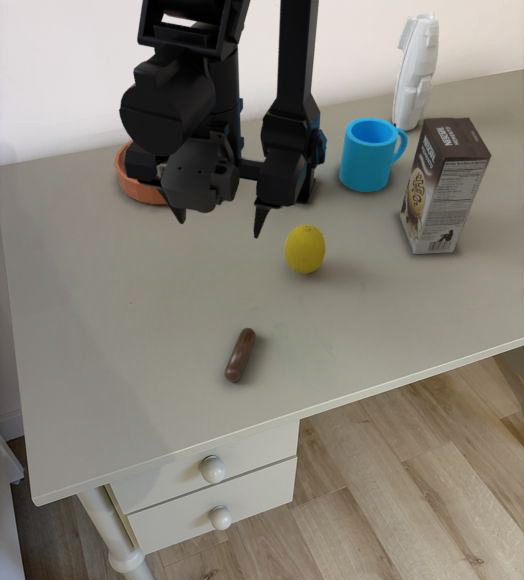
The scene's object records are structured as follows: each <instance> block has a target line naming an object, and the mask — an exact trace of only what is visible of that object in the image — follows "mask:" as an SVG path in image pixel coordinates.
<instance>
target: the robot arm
mask: <svg viewBox="0 0 524 580" xmlns="http://www.w3.org/2000/svg"><path fill="white" fill-rule="evenodd" d="M251 1H252V0H142V2H141V8H140V16H139V23H138V29H137V37H136V43H137V44H138V45H139V46H143V47H149V48H152V49H153V50H154V54H153V55H152V56H151V57H149V58H148V59H146V60H144V61H141V62H140V63H139V64H137V65H136V66H135V67H134V68H133V70H132V74H133V79H134V80H133V81H134V83H133V84H132V85H130V86H129V87H128V88H127V89H126V90H125V92H123V94H122V96H121V99H120V104H119V105H120V106H119V109H118V112H119V113H118V114H119V118H120V121H121V124H122V127H123V129H124V130H125V132H126V134H127V135H128V136H129V137H130V139H131V140H133V141H132V142H131V143H130V145H129V146H128V147H127V148H126V150H125V151H124V152H123V158H122V163H123V167H124V171H125V174H126V176H127V177H128V178H132V179H137V181H138V182H139V183H140V184H142V185H146V186H149V187H152V188H155V189H156V190H157V191H158V192H159V193H160V194H161V196H162V197H163V198H164V200H165V201H166V203H167V204H166V205H167V206H168V208H169V209H170V210H171V211H170V212H172V215H174V217H175V219H176V220H177V222H178V223H179V224H180V225H184V223H185V222H186V220H187V210H190V211H197V212H198V213H201V214H208V213H209V214H210V213H212V212H213V211H214V210H215V209H216V206H221V205H222V203H223V202H233V201H234V200H235V197H236V194H237V191H238V189H239V185H240V180H241V179H243V180H247V181H252V182H253V181H254V182H256V185H255V195H256V197H255V200H254V202H253V205H254V207H255V212H254V219H253V221H254V222H253V238H254V239H256V240H257V239H258V238H259V237H260V234H261V232H262V229H263V227H264V224H265V222H266V219H267V216H268V215H269V213H270V211H272V210H280V209H282V208H284V207H286V208H289V207H292V206H295V205H296V203H300V204H308V203H309V201H310V198H311V196H312V194H313V193H312V192H313V191H314V188H315V185H316V182H317V179H316V178H315V172H316V171H315V170H316V168H317V167H318V166H320V165H323V164H325V162H326V154H327V153H326V152H327V149H328V148H327V143H328V139H327V136H326V135H325V133H324V132H323V129H321V110H320V108H319V106H318V104H317V102H316V100H315V98H314V96H313V94H312V83H313V74H314V73H313V72H314V63H315V50H316V49H315V48H316V41H317V40H316V39H317V28H318V27H317V26H318V17H319V6H320V5H319V4H320V0H280V2H279V25H278V49H277V51H278V53H277V73H276V74H277V75H276V77H277V78H276V79H277V80H276V95H275V99H274V100H273V102H272V103H271V105H270V106H269V107H268V109H267V110H266V113H265V114H264V116H263V118H262V124H261V128H260V143H261V148H262V149H261V150H262V153H263V157H264V160H259V159H255V158H254V159H253V158H249V157H242V151H243V149H244V147H245V137H244V136H242V130H241V129H242V127H241V124H242V123H241V113H242V111H243V110H244V98H242V97H241V95H240V65H239V64H240V63H239V62H240V61H239V44H240V41H241V37H242V34H243V32H244V29H245V22H246V17H247V15H248V12H249V9H250V4H251ZM164 16H167V17H170V18H175V19H180V20H186V21H191V22H195V23H193V24H192V25H191V26H187V25H183V24H176V23H171V22H166V21H163V18H164Z"/></svg>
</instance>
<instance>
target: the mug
mask: <svg viewBox="0 0 524 580" xmlns="http://www.w3.org/2000/svg"><path fill="white" fill-rule="evenodd" d="M399 136H400V143H399V146H398V147H397V149H396V146H397V142H398V138H399ZM407 147H408V136H407V133H406V131H403V130H402V129H400V128H396V126H394V125H392V123H391V122H389V121H387V120H385V119H381V118H377V117H375V118H374V117H361V118H357V119H354V120H352V121H349V123H348V124H347V125H346V127H345V131H344V136H343V145H342V153H341V160H340V167H339V175H338V176H339V180H340V182H341V184H343V185H344V186H345V187H347V188H348V189H351V190H352V191H355V192H361V193H372V192H377V191H380V190H381V189H383V188H385V187H386V186H387V184H388V181H389V177H390V173H391V168H392V165H393V164H395V163H396V162H397V161H398V160H399V159H400V158H401V157H402V155H403V154H404V153H405V151H406V149H407Z"/></svg>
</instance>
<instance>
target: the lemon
mask: <svg viewBox="0 0 524 580" xmlns="http://www.w3.org/2000/svg"><path fill="white" fill-rule="evenodd" d="M283 250H284V251H283V252H284V259H285V262H286V263H287V266H288V267H289V268H290V269H291V270H292V271H294V272H295V273H298V274H305V275H306V274H310V273H313V272H315V271H316V270H318V269H319V267H320V266H322V263H323V261H324V259H325V255H326V241H325V238H324V236H323V233H322V232H321V231H320V230H319V228H317V227H315V226H313V225H311V224H300V225H297V226H295V227H294V228H293V229H292V230H291V231H290V232H289V234H288V236H287V237H286V240H285V244H284V249H283Z"/></svg>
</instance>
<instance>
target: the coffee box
mask: <svg viewBox="0 0 524 580" xmlns="http://www.w3.org/2000/svg"><path fill="white" fill-rule="evenodd" d="M492 156H493V155H492V153H491V151H490V150H489V148H488V147H487V145H486V143H485V141H484V140H483V138H482V137H481V134H480V133H479V132H478V130H477V128H476V127H475V125H474V123H473V121H472V120H471V118H470V117H430V118H424V119H423V121H422V126H421V130H420V134H419V137H418V142H417V146H416V149H415V154H414V158H413V161H412V165H411V169H410V173H409V178H408V180H407V181H408V182H407V185H406V189H405V193H404V197H403V201H402V204H401V209H400V213H399V218H400V221H401V223H402V226H403V229H404V232H405V234H406V237H407V240H408V242H409V245H410V249H411V250H412V254H413V255H423V254H441V253H442V254H445V253H446V254H447V253H453V252H454V251H455V249H456V246H457V244H458V241H459V238H460V236H461V234H462V231H463V229H464V226H465V223H466V221H467V219H468V217H469V214H470V211H471V209H472V206H473V204H474V201H475V199H476V196H477V194H478V191H479V189H480V186H481V184H482V181H483V179H484V176H485V174H486V172H487V169H488V166H489V163H490V162H491V159H492Z"/></svg>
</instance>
